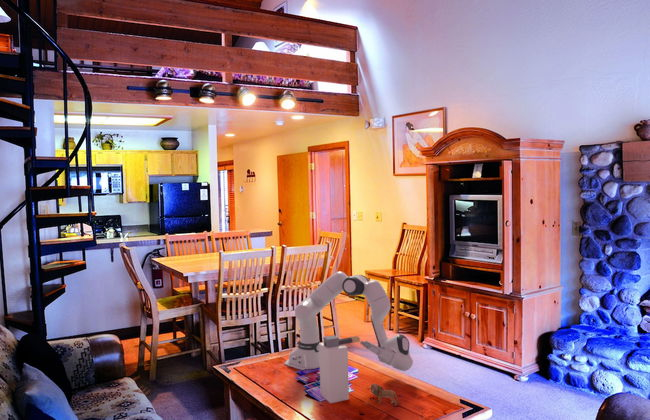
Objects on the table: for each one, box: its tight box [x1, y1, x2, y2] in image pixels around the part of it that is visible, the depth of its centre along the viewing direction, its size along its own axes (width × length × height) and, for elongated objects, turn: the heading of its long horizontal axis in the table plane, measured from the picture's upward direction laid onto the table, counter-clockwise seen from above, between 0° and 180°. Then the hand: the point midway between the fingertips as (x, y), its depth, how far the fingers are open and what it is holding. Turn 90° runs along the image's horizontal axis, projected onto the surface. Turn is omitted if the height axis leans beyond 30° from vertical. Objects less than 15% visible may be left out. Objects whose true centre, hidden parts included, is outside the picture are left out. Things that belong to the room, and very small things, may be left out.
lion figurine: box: [369, 383, 402, 407], centre depth 238 cm, size 15×5×9 cm, turn 73°
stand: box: [319, 342, 350, 404], centre depth 247 cm, size 10×12×26 cm
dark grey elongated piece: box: [323, 334, 361, 348], centre depth 248 cm, size 18×5×4 cm, turn 114°
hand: (365, 345), depth 253 cm, fingers open, 8 cm apart
